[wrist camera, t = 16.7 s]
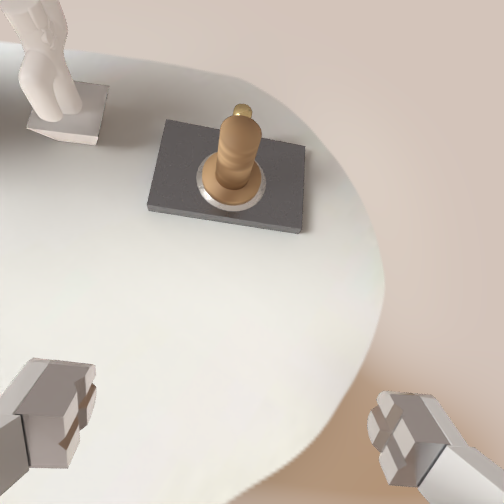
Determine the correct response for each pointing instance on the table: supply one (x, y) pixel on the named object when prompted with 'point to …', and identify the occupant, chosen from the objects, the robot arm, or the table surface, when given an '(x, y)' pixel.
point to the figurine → (53, 75)
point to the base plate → (204, 207)
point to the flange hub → (234, 163)
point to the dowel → (242, 110)
